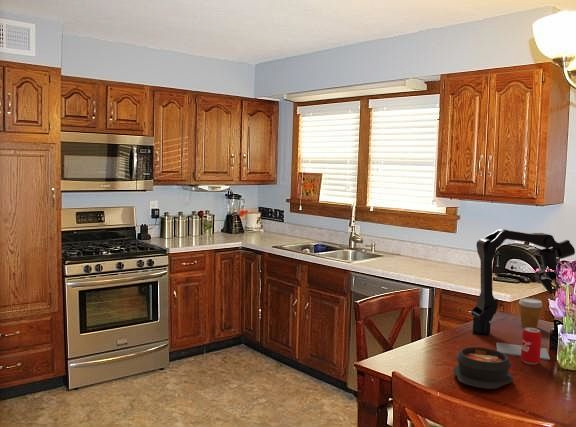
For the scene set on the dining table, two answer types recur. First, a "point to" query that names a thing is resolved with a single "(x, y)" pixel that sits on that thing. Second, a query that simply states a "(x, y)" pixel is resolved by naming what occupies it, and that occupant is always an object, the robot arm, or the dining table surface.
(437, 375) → the dining table surface
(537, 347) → the beverage can
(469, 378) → the casserole
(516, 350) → the slate mat
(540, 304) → the disposable coffee cup
